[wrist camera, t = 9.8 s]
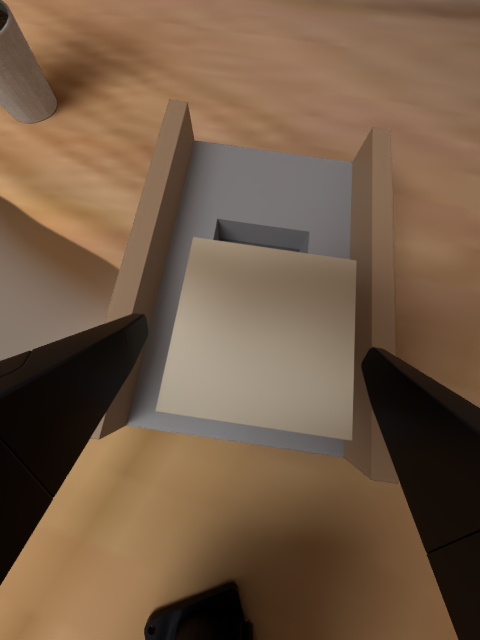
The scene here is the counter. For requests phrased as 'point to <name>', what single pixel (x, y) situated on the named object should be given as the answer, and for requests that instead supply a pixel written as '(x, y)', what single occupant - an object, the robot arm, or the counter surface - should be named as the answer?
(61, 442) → the robot arm
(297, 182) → the channel
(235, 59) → the counter surface
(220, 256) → the block
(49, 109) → the house plant
